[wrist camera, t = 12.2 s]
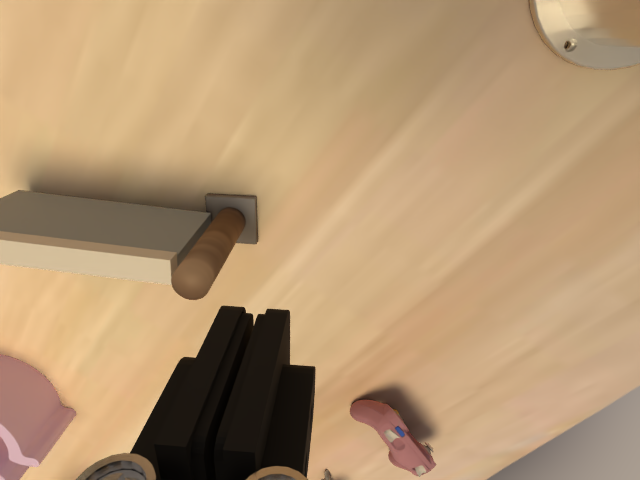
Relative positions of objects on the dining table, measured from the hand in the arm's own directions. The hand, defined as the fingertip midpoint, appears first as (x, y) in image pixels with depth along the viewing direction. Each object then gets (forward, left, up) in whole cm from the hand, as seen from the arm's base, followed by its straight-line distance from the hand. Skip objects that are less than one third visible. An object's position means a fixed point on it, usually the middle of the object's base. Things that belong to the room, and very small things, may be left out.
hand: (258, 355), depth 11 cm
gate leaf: (+18, +7, -26) cm, 33 cm away
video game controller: (-9, +32, -27) cm, 43 cm away
